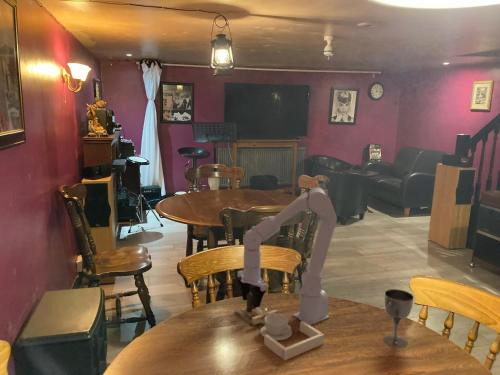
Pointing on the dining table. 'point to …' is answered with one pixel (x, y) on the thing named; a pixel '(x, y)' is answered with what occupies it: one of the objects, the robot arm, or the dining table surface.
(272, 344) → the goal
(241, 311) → the rail
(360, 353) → the dining table surface
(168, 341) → the dining table surface
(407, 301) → the wine glass
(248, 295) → the pushrod
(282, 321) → the teacup
